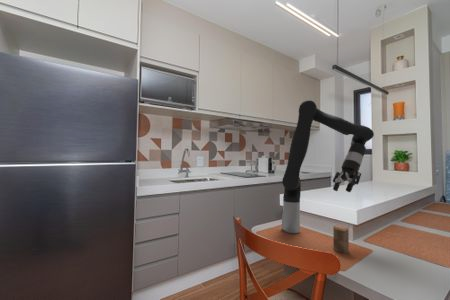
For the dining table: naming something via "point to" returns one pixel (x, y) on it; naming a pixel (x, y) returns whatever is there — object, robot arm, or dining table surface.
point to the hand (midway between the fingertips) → (341, 190)
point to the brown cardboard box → (341, 239)
